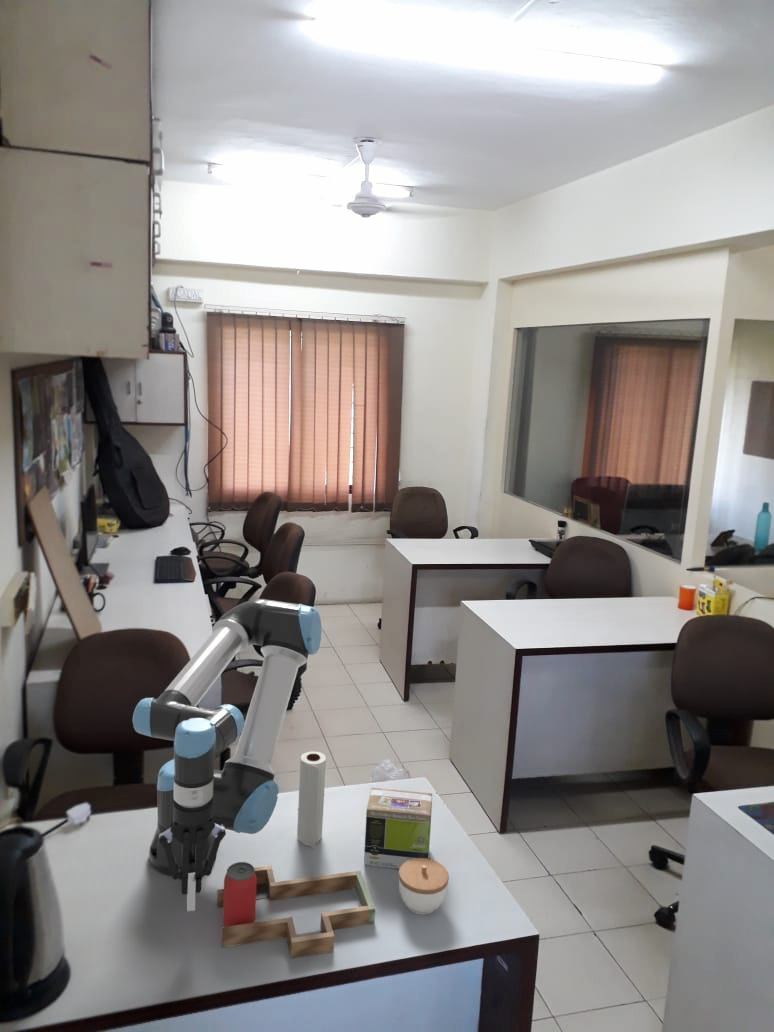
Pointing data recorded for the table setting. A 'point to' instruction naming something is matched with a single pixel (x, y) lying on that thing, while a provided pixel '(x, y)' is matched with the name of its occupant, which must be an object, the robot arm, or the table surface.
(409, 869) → the lidded jar
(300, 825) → the paper towel roll
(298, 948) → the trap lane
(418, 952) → the table surface
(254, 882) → the beer can
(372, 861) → the tea box
